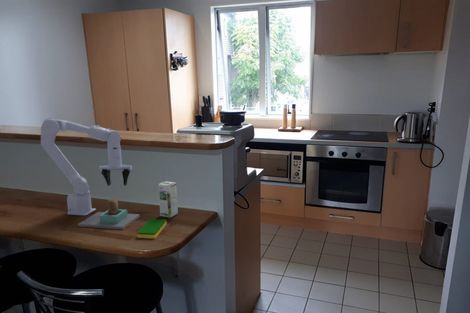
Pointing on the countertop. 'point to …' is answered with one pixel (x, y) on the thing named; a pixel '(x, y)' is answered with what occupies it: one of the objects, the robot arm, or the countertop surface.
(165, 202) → the syrup box
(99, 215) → the socket stand
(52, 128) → the robot arm
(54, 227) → the countertop surface
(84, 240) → the countertop surface
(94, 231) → the countertop surface
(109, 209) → the walnut peg
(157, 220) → the dish sponge
